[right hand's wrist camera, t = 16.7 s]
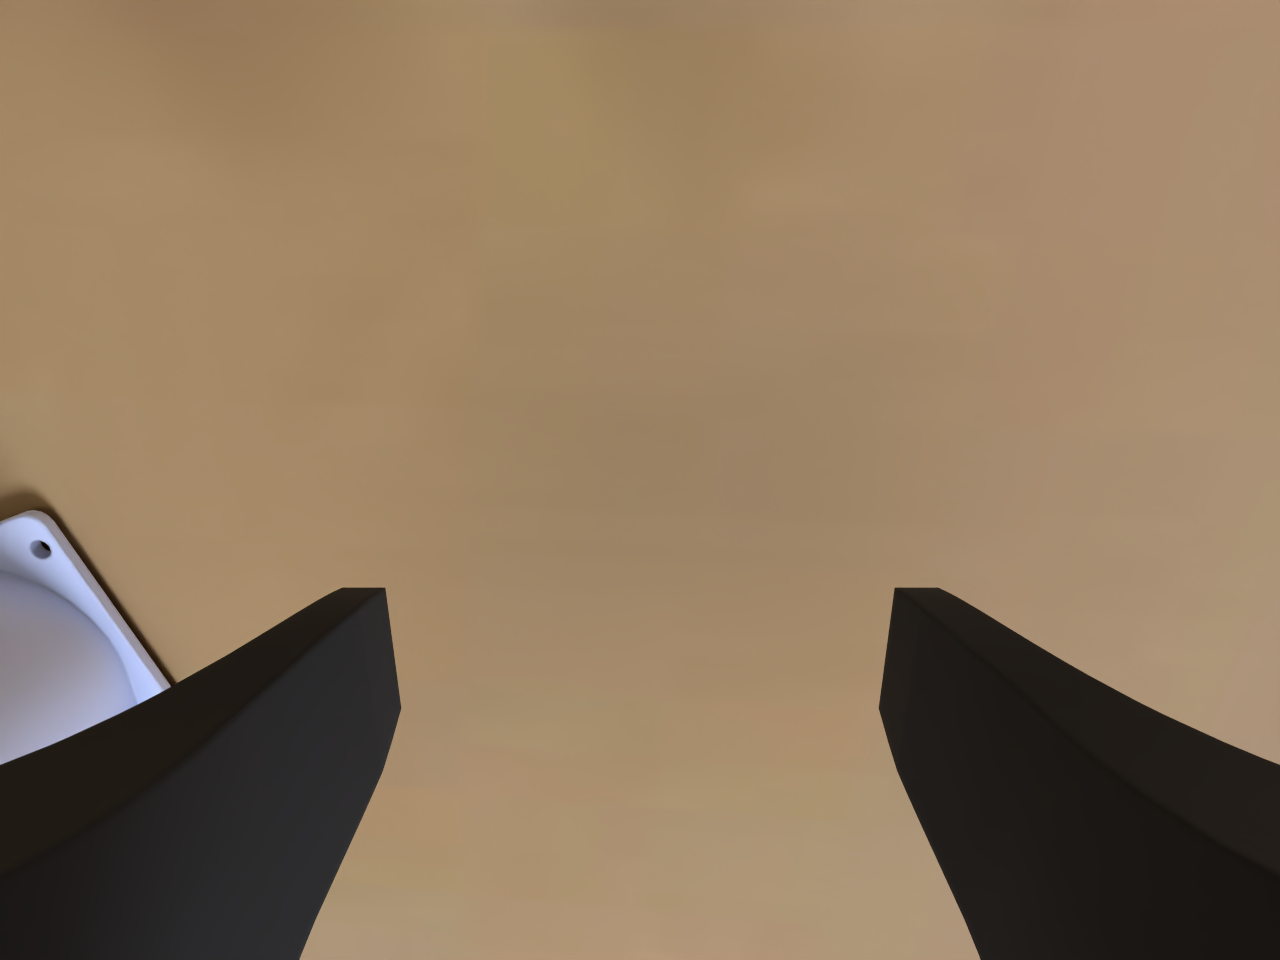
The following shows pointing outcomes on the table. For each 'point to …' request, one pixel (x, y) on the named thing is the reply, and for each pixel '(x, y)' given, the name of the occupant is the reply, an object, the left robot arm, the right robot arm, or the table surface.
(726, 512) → the table surface
